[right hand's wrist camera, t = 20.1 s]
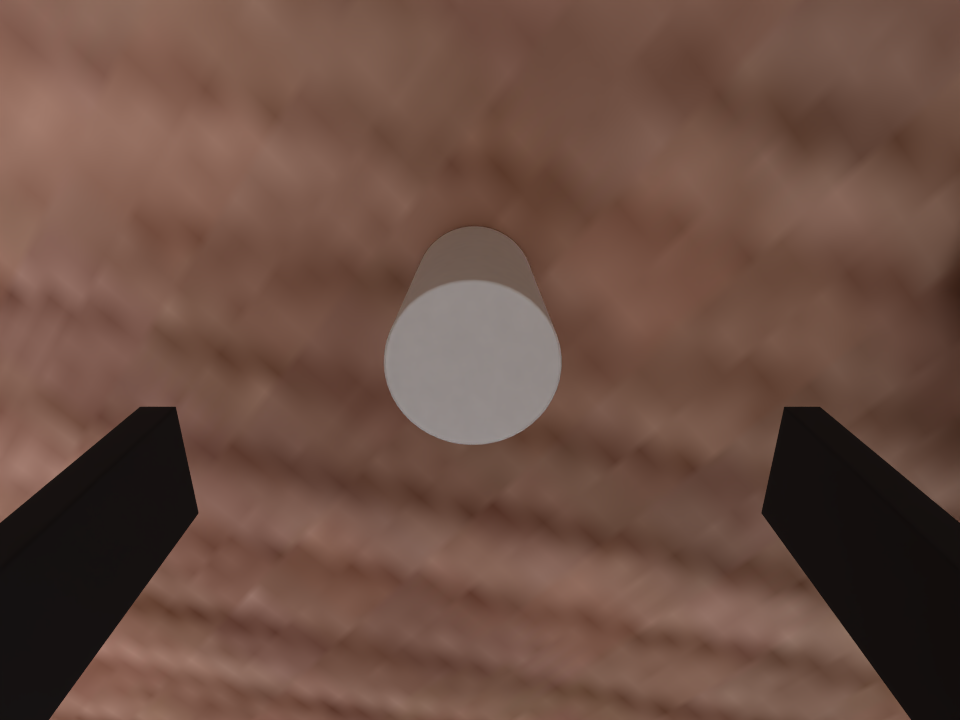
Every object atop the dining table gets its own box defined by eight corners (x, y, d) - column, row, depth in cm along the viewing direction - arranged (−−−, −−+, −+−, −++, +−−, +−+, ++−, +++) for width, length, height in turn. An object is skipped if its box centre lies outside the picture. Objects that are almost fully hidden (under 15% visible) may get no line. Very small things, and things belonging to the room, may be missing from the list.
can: (542, 324, 29) (576, 426, 19) (433, 349, 29) (411, 461, 19) (518, 213, 27) (542, 260, 17) (403, 241, 27) (359, 303, 17)
